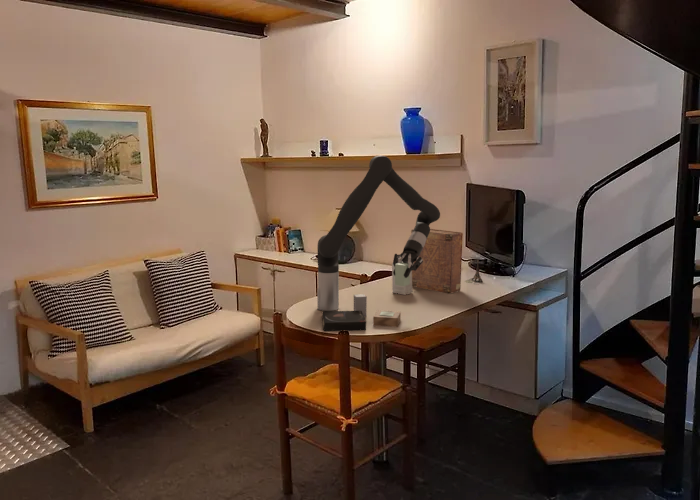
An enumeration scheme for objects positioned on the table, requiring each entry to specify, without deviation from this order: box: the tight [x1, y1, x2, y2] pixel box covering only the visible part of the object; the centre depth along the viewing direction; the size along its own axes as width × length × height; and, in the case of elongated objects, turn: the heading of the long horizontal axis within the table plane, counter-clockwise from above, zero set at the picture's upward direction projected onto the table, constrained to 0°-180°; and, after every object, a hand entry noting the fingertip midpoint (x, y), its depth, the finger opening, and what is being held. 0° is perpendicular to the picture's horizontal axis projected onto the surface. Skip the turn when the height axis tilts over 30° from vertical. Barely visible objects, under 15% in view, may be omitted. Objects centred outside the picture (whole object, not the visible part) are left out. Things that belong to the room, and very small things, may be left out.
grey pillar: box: [353, 293, 368, 318], centre depth 260 cm, size 4×4×9 cm
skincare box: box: [391, 261, 413, 296], centre depth 300 cm, size 8×7×16 cm
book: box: [410, 228, 464, 294], centre depth 309 cm, size 25×9×30 cm, turn 47°
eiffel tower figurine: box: [464, 259, 484, 285], centre depth 328 cm, size 15×10×13 cm
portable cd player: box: [321, 310, 367, 332], centre depth 247 cm, size 16×17×4 cm
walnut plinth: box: [372, 309, 402, 328], centre depth 251 cm, size 10×10×4 cm
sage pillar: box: [395, 263, 410, 286], centre depth 257 cm, size 4×4×9 cm
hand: (400, 275), depth 255 cm, fingers closed on sage pillar, 4 cm apart
